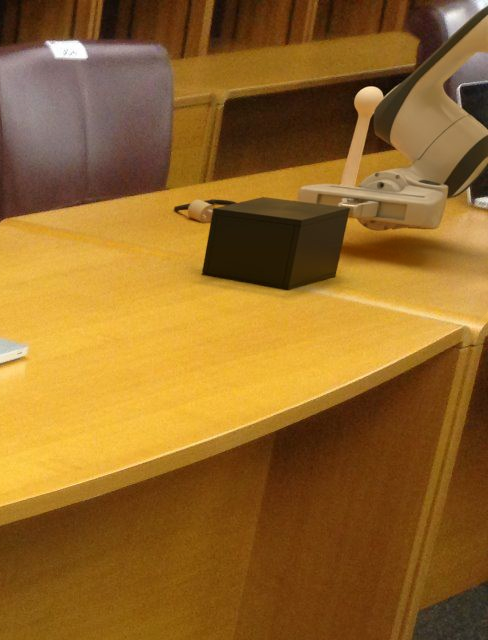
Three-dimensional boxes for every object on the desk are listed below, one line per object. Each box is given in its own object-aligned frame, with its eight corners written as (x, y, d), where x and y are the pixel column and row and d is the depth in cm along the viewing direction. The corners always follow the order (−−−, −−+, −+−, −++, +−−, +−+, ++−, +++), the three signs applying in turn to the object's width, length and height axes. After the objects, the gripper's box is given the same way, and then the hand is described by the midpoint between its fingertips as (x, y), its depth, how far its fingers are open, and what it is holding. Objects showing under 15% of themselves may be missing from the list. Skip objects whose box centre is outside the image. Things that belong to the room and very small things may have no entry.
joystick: (326, 200, 274) (355, 82, 265) (371, 204, 272) (402, 85, 262) (330, 211, 265) (360, 89, 255) (377, 215, 262) (410, 92, 253)
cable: (147, 206, 265) (151, 186, 264) (229, 205, 269) (233, 185, 267) (200, 225, 252) (204, 204, 250) (285, 223, 256) (290, 202, 254)
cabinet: (250, 264, 225) (263, 196, 221) (335, 277, 217) (350, 207, 212) (200, 278, 216) (213, 208, 212) (287, 292, 208) (301, 220, 204)
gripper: (323, 171, 240) (282, 180, 232) (460, 186, 227) (421, 196, 218) (315, 212, 243) (274, 222, 235) (449, 230, 230) (410, 241, 221)
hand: (346, 210), depth 227 cm, fingers closed
